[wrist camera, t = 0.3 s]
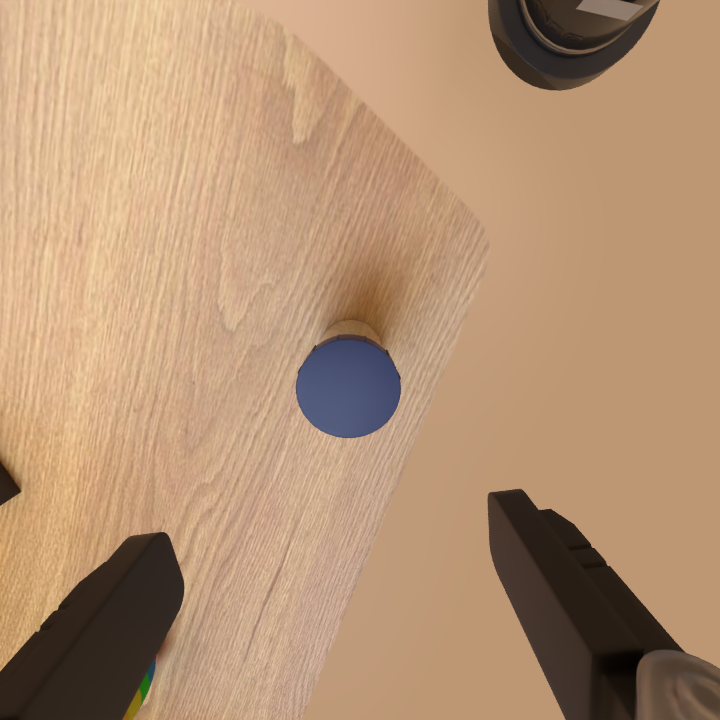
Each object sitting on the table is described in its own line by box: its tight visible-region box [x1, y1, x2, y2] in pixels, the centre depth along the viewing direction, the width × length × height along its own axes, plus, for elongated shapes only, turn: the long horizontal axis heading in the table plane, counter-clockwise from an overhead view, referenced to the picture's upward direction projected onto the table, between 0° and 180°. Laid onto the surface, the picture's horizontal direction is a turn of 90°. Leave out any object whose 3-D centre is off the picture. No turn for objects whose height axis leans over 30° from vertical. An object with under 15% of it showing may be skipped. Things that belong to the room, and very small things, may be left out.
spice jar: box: [319, 320, 382, 346], centre depth 24 cm, size 5×5×9 cm
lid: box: [296, 334, 401, 438], centre depth 20 cm, size 6×6×2 cm
